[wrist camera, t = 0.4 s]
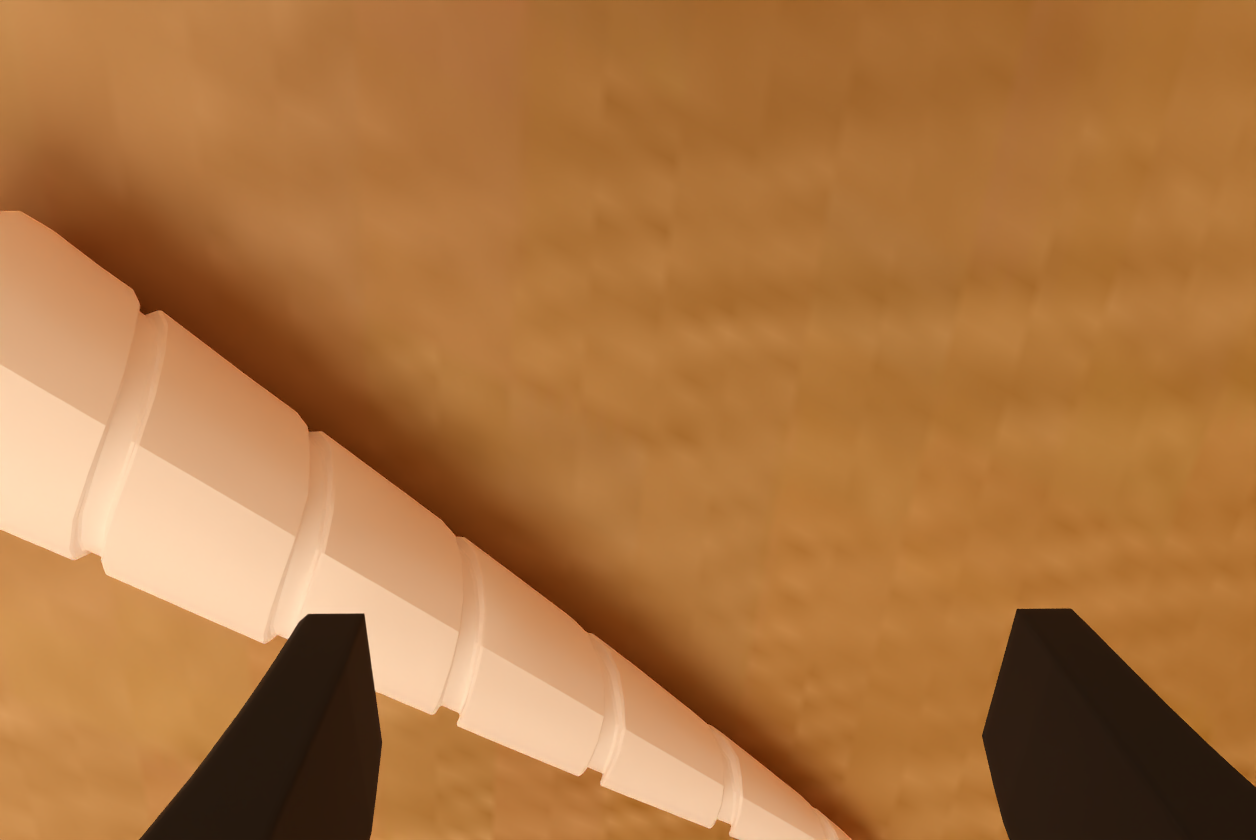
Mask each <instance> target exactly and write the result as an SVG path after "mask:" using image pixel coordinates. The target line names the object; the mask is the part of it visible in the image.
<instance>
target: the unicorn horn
mask: <svg viewBox="0 0 1256 840" xmlns="http://www.w3.org/2000/svg"><path fill="white" fill-rule="evenodd" d="M139 310H140V303H139V301H138V299H137V296H136V294H135V292H134V290H133V289H132V288H130V287H129V286H128V285H126V284H125V283H123V282H122V281H120V280H119V279H118V278H116V277H115V276H113V275H112V274H111V273H109V272H108V271H106V270H105V269H103V268H102V267H101V266H99V265H98V264H97V263H95V262H94V261H93V260H91V259H90V258H89V257H87V256H86V255H85V254H83V253H82V252H81V251H80V250H78V249H77V248H76V247H74V246H73V245H72V244H70V243H69V242H68V241H66V240H65V239H64V238H63V237H61V236H60V235H59V234H57V233H56V232H55V231H53V230H52V229H50V228H49V227H47V226H45V225H43V224H42V223H40V222H38V221H37V220H35V219H33V218H32V217H30V216H28V215H26V214H25V213H23V212H21V211H0V530H3V531H5V532H7V533H10V534H12V535H15V536H17V537H19V538H22V539H24V540H26V541H29V542H31V543H34V544H36V545H38V546H41V547H43V548H45V549H48V550H50V551H53V552H55V553H57V554H60V555H62V556H64V557H67V558H69V559H71V560H77V559H79V558H81V557H83V556H85V555H87V554H89V553H94V554H96V555H99V556H101V562H102V565H103V568H104V571H105V573H106V575H108V576H111V577H113V578H115V579H117V580H120V581H122V582H124V583H127V584H129V585H131V586H133V587H136V588H138V589H140V590H142V591H145V592H147V593H149V594H152V595H154V596H156V597H158V598H161V599H163V600H165V601H167V602H170V603H172V604H174V605H177V606H179V607H181V608H183V609H186V610H188V611H190V612H193V613H195V614H197V615H199V616H202V617H204V618H206V619H208V620H211V621H213V622H215V623H218V624H220V625H222V626H224V627H227V628H229V629H231V630H234V631H236V632H238V633H241V634H243V635H245V636H247V637H250V638H252V639H254V640H257V641H259V642H261V643H263V644H265V643H268V642H269V641H270V640H272V639H273V638H274V637H275V636H277V635H279V636H281V637H284V638H286V639H289V637H290V635H291V634H292V632H293V631H294V629H295V627H296V626H297V624H298V622H299V621H300V620H302V619H303V618H304V617H305V616H306V615H307V614H351V613H364V614H365V621H366V629H367V636H368V643H369V651H370V658H371V665H372V672H373V680H374V687H375V691H376V692H378V693H381V694H383V695H385V696H388V697H390V698H393V699H395V700H397V701H400V702H402V703H404V704H407V705H409V706H411V707H414V708H416V709H419V710H421V711H423V712H426V713H428V714H430V715H433V714H435V713H436V712H437V710H438V708H439V707H440V706H444V707H447V708H449V709H451V710H453V711H456V712H458V713H459V715H460V717H459V719H458V721H457V726H458V727H461V728H463V729H465V730H468V731H470V732H473V733H475V734H477V735H480V736H482V737H484V738H487V739H489V740H491V741H494V742H496V743H499V744H501V745H503V746H506V747H508V748H511V749H513V750H516V751H518V752H520V753H523V754H525V755H528V756H530V757H532V758H535V759H537V760H540V761H542V762H545V763H547V764H549V765H552V766H554V767H557V768H559V769H561V770H564V771H566V772H569V773H571V774H573V775H576V776H580V775H581V774H583V773H584V772H585V770H586V768H587V767H588V768H591V769H593V770H596V771H598V772H600V773H602V774H603V776H602V778H601V781H600V784H601V786H603V787H606V788H608V789H611V790H613V791H615V792H618V793H620V794H623V795H626V796H628V797H631V798H633V799H636V800H638V801H641V802H643V803H646V804H648V805H651V806H653V807H656V808H659V809H661V810H664V811H666V812H669V813H671V814H674V815H676V816H679V817H681V818H684V819H686V820H689V821H692V822H694V823H697V824H699V825H702V826H704V827H707V828H709V829H710V828H712V827H713V826H714V824H715V822H716V820H717V819H718V820H720V821H723V822H726V823H728V824H731V830H730V832H729V835H730V836H731V837H733V838H736V839H739V840H852V839H851V838H850V837H849V836H848V835H847V834H846V833H844V832H843V831H842V830H841V829H840V828H839V827H838V826H837V825H836V824H834V823H833V822H832V821H831V820H830V819H828V818H827V817H826V816H825V815H824V814H822V813H821V812H820V811H819V810H818V809H816V808H814V807H812V806H811V805H810V804H809V803H808V802H807V801H806V800H805V799H804V798H803V797H802V796H801V795H800V794H799V793H797V792H796V791H795V790H793V789H792V788H791V787H790V786H788V785H787V784H786V783H785V782H783V781H782V780H781V779H780V778H778V777H777V776H776V775H775V774H773V773H772V772H771V771H770V770H768V769H767V768H766V767H765V766H763V765H762V764H761V763H760V762H758V761H757V760H756V759H755V758H753V757H752V756H751V755H749V754H748V753H747V752H746V751H744V750H743V749H742V748H741V747H739V746H738V745H737V744H736V743H734V742H733V741H732V740H730V739H729V738H728V737H727V736H725V735H724V734H723V733H721V732H720V731H719V730H717V729H716V728H715V727H713V726H712V725H709V724H707V723H706V722H704V721H703V720H702V719H701V718H700V717H699V716H697V715H696V714H695V713H694V712H693V711H692V710H690V709H689V708H688V707H686V706H685V705H684V704H683V703H681V702H680V701H679V700H678V699H676V698H675V697H674V696H673V695H671V694H670V693H669V692H668V691H666V690H665V689H664V688H663V687H661V686H660V685H659V684H658V683H656V682H655V681H654V680H652V679H651V678H650V677H649V676H647V675H646V674H645V673H644V672H642V671H641V670H640V669H639V668H637V667H636V666H635V665H634V664H632V663H631V662H630V661H628V660H627V659H626V658H624V657H623V656H622V655H620V654H619V653H618V652H616V651H615V650H614V649H612V648H611V647H610V646H609V645H607V644H606V643H605V642H603V641H602V640H601V639H599V638H598V637H597V636H595V635H594V634H592V633H587V632H586V631H585V630H584V629H583V628H582V627H581V626H580V625H579V624H578V623H577V622H576V621H575V620H574V619H573V618H572V617H570V616H569V615H568V614H566V613H565V612H564V611H562V610H561V609H560V608H558V607H557V606H556V605H554V604H553V603H552V602H550V601H549V600H548V599H546V598H545V597H544V596H542V595H541V594H540V593H538V592H537V591H536V590H534V589H533V588H532V587H531V586H529V585H528V584H527V583H525V582H524V581H523V580H521V579H520V578H519V577H517V576H516V575H515V574H513V573H512V572H511V571H509V570H508V569H507V568H505V567H504V566H502V565H501V564H500V563H498V562H497V561H496V560H494V559H493V558H492V557H490V556H489V555H488V554H486V553H485V552H484V551H482V550H481V549H480V548H478V547H477V546H476V545H474V544H473V543H472V542H470V541H469V540H468V539H466V538H465V537H456V536H455V535H454V533H453V532H452V531H451V530H450V529H449V528H448V527H447V525H446V524H445V523H444V522H443V521H442V520H441V519H440V518H438V517H437V516H436V515H434V514H433V513H432V512H430V511H429V510H428V509H426V508H425V507H424V506H422V505H421V504H420V503H418V502H417V501H416V500H414V499H413V498H412V497H410V496H409V495H407V494H406V493H405V492H403V491H402V490H401V489H399V488H398V487H397V486H395V485H394V484H393V483H391V482H390V481H389V480H387V479H386V478H385V477H383V476H382V475H380V474H379V473H378V472H376V471H375V470H374V469H372V468H371V467H370V466H368V465H367V464H366V463H364V462H363V461H362V460H360V459H359V458H357V457H356V456H355V455H353V454H352V453H351V452H349V451H348V450H347V449H345V448H344V447H343V446H341V445H340V444H339V443H337V442H336V441H335V440H333V439H332V438H330V437H329V436H328V435H326V434H325V433H324V432H322V431H316V432H308V426H307V425H306V424H305V422H304V421H303V420H302V418H301V417H300V416H299V414H298V413H297V412H296V411H295V410H293V409H292V408H291V407H289V406H288V405H286V404H285V403H284V402H282V401H281V400H280V399H278V398H277V397H276V396H274V395H273V394H271V393H270V392H269V391H267V390H266V389H265V388H263V387H262V386H261V385H259V384H258V383H256V382H255V381H254V380H252V379H251V378H250V377H248V376H247V375H246V374H244V373H243V372H242V371H240V370H239V369H238V368H236V367H235V366H234V365H232V364H231V363H230V362H228V361H227V360H226V359H225V358H223V357H222V356H221V355H219V354H218V353H217V352H215V351H214V350H213V349H211V348H210V347H209V346H207V345H206V344H205V343H204V342H202V341H201V340H200V339H198V338H197V337H196V336H194V335H193V334H192V333H190V332H189V331H188V330H186V329H185V328H184V327H183V326H181V325H180V324H179V323H177V322H176V321H175V320H173V319H172V318H171V317H169V316H168V315H167V314H165V313H164V312H163V311H155V312H152V313H149V314H147V315H144V314H143V313H141V312H140V311H139Z"/></svg>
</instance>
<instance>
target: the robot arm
mask: <svg viewBox="0 0 1256 840" xmlns="http://www.w3.org/2000/svg"><path fill="white" fill-rule="evenodd" d="M982 738H983V742H984V746H985V751H986V755H987V759H988V764H989V768H990V772H991V777H992V781H993V785H994V789H995V793H996V797H997V800H998V804H999V808H1000V812H1001V816H1002V820H1003V823H1004V826H1005V829H1006V831H1007V834H1008V837H1009V839H1010V840H1256V787H1255V786H1253V785H1252V784H1251V783H1250V782H1249V781H1248V780H1247V779H1246V778H1245V777H1243V776H1242V775H1241V774H1240V773H1239V772H1238V771H1237V770H1236V769H1235V768H1234V767H1232V766H1231V765H1230V764H1229V763H1228V762H1227V761H1226V760H1225V759H1224V758H1223V757H1222V756H1220V755H1219V754H1218V753H1217V752H1216V751H1215V750H1214V749H1213V748H1212V747H1211V746H1210V745H1209V744H1208V743H1207V742H1206V741H1204V740H1203V739H1202V738H1201V737H1200V736H1199V735H1198V734H1197V733H1196V732H1195V731H1194V730H1193V729H1192V728H1191V727H1190V726H1189V725H1188V724H1187V723H1186V722H1185V721H1184V720H1183V719H1182V718H1181V717H1179V716H1178V715H1177V714H1176V713H1175V712H1174V711H1173V710H1172V709H1171V708H1170V707H1169V706H1168V705H1167V704H1166V703H1165V702H1164V701H1163V700H1162V699H1161V698H1160V697H1159V696H1158V695H1157V694H1156V693H1155V692H1154V691H1153V690H1152V689H1151V688H1150V687H1149V686H1148V685H1147V684H1146V683H1145V682H1144V681H1143V680H1142V679H1141V678H1140V677H1139V676H1138V675H1137V674H1136V673H1135V672H1134V671H1133V670H1132V669H1131V668H1130V667H1129V666H1128V665H1127V664H1126V663H1125V662H1124V661H1123V660H1122V659H1121V658H1120V657H1119V656H1118V655H1117V654H1116V653H1115V652H1114V651H1113V650H1112V649H1111V648H1110V647H1109V646H1108V645H1107V644H1106V643H1105V642H1104V641H1103V640H1102V639H1101V638H1100V637H1099V636H1098V635H1097V634H1096V633H1095V632H1094V631H1093V630H1092V629H1091V628H1090V627H1089V626H1088V625H1087V624H1086V623H1085V622H1084V621H1083V620H1082V619H1081V618H1080V617H1079V616H1078V615H1077V614H1076V613H1075V612H1074V611H1073V610H1072V609H1017V611H1016V614H1015V618H1014V622H1013V625H1012V629H1011V633H1010V636H1009V640H1008V643H1007V647H1006V651H1005V654H1004V658H1003V662H1002V665H1001V669H1000V672H999V676H998V680H997V683H996V687H995V691H994V694H993V698H992V701H991V705H990V709H989V712H988V716H987V719H986V723H985V727H984V730H983V734H982ZM381 748H382V738H381V731H380V724H379V716H378V709H377V702H376V694H375V687H374V680H373V672H372V665H371V658H370V651H369V643H368V636H367V629H366V621H365V614H364V613H351V614H307V615H306V616H305V617H304V618H303V619H302V620H300V621H299V622H298V624H297V626H296V627H295V629H294V631H293V632H292V634H291V635H290V637H289V639H288V640H287V642H286V643H285V645H284V647H283V648H282V650H281V651H280V653H279V654H278V656H277V658H276V659H275V661H274V662H273V664H272V665H271V667H270V668H269V670H268V671H267V673H266V674H265V676H264V677H263V679H262V680H261V682H260V683H259V685H258V686H257V688H256V689H255V690H254V692H253V693H252V695H251V696H250V698H249V699H248V701H247V702H246V703H245V705H244V706H243V708H242V709H241V711H240V712H239V713H238V715H237V716H236V718H235V719H234V720H233V722H232V723H231V724H230V726H229V727H228V728H227V730H226V731H225V732H224V734H223V735H222V736H221V738H220V739H219V740H218V742H217V743H216V745H215V746H214V747H213V749H212V750H211V751H210V753H209V754H208V755H207V757H206V758H205V759H204V761H203V762H202V763H201V765H200V766H199V767H198V769H197V770H196V771H195V772H194V774H193V775H192V776H191V778H190V779H189V780H188V781H187V783H186V784H185V785H184V786H183V787H182V789H181V790H180V791H179V792H178V793H177V795H176V796H175V797H174V798H173V800H172V801H171V802H170V803H169V804H168V806H167V807H166V808H165V809H164V810H163V812H162V813H161V814H160V815H159V816H158V818H157V819H156V820H155V821H154V823H153V824H152V825H151V826H150V827H149V829H148V830H147V831H146V832H145V833H144V835H143V836H142V837H141V838H140V839H139V840H370V835H371V831H372V823H373V815H374V807H375V800H376V792H377V783H378V774H379V765H380V756H381Z"/></svg>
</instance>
